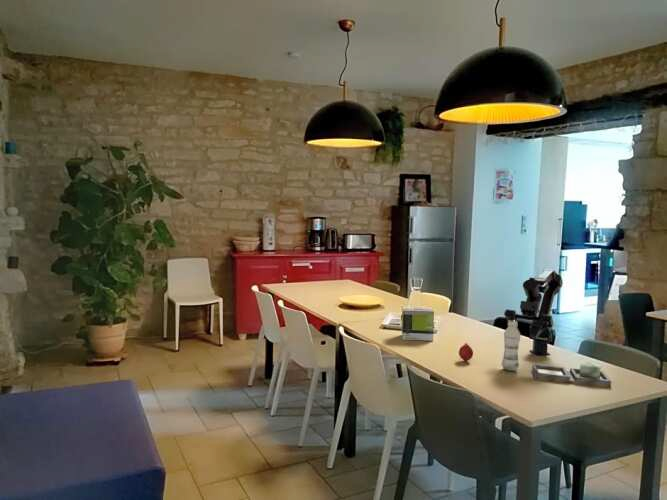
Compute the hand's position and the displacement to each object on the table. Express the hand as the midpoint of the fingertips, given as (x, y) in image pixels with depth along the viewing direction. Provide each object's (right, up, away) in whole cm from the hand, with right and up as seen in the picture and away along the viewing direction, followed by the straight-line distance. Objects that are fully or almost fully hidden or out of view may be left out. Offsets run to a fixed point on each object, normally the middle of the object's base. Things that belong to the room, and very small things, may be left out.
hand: (523, 335), depth 210 cm
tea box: (-36, -9, +44) cm, 58 cm away
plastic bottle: (-7, -14, -3) cm, 15 cm away
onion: (-22, -12, +7) cm, 26 cm away
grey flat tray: (+14, -15, -11) cm, 23 cm away
